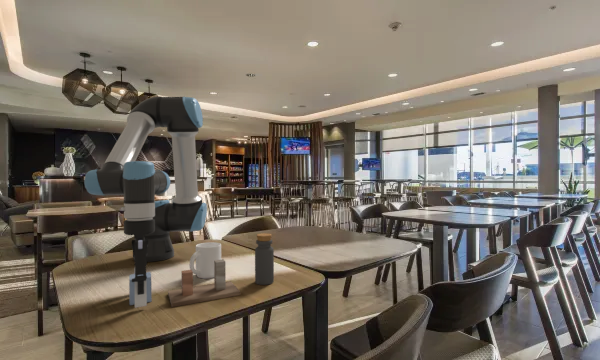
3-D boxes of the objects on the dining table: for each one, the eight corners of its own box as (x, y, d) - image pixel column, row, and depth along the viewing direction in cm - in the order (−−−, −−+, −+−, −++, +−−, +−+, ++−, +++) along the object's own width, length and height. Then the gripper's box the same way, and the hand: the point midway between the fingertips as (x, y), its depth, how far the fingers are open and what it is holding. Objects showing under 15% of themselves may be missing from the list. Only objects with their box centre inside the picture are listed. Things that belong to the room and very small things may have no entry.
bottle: (266, 277, 105) (265, 232, 105) (277, 281, 101) (277, 234, 101) (251, 281, 101) (251, 234, 101) (262, 286, 97) (262, 237, 97)
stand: (168, 294, 91) (167, 262, 91) (230, 284, 99) (230, 255, 99) (171, 307, 82) (171, 272, 82) (240, 294, 90) (240, 262, 90)
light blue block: (129, 298, 88) (129, 274, 88) (150, 295, 90) (150, 271, 90) (129, 305, 83) (129, 280, 83) (151, 301, 86) (151, 277, 85)
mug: (198, 284, 99) (198, 250, 99) (181, 279, 104) (180, 247, 104) (226, 273, 110) (226, 243, 110) (209, 270, 114) (209, 241, 114)
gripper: (124, 214, 96) (125, 285, 96) (122, 225, 74) (123, 317, 74) (152, 213, 99) (153, 281, 99) (157, 223, 77) (158, 311, 77)
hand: (140, 297), depth 87 cm, fingers open, 13 cm apart
